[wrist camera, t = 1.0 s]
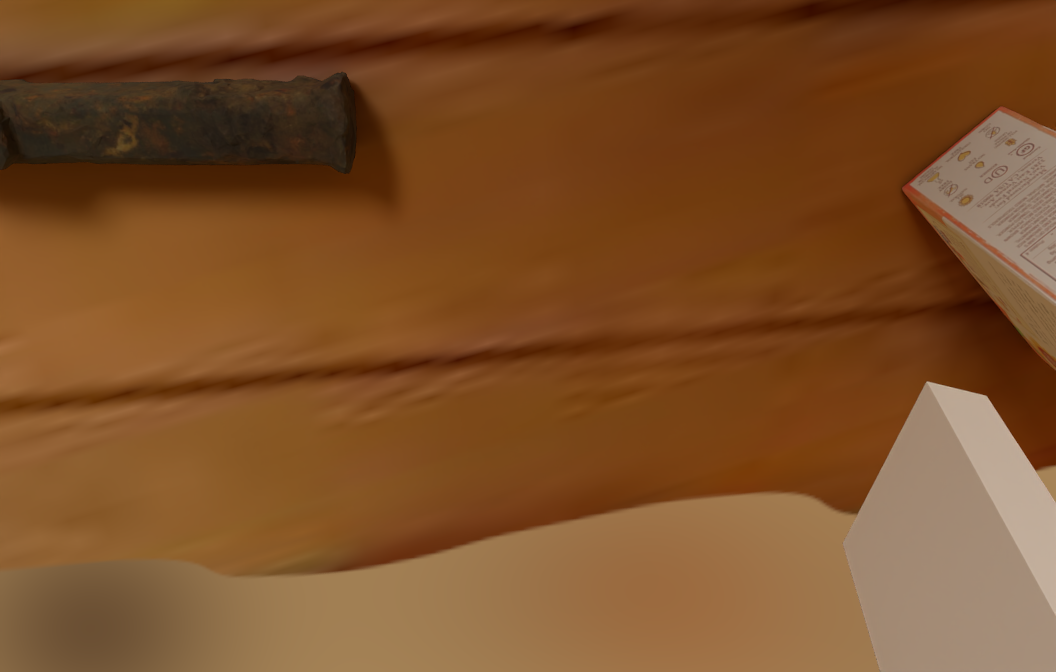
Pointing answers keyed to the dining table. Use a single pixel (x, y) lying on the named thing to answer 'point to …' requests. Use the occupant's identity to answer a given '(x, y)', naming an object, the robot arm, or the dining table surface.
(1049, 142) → the cracker box
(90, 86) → the hand tool
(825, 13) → the dining table surface
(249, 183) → the dining table surface
